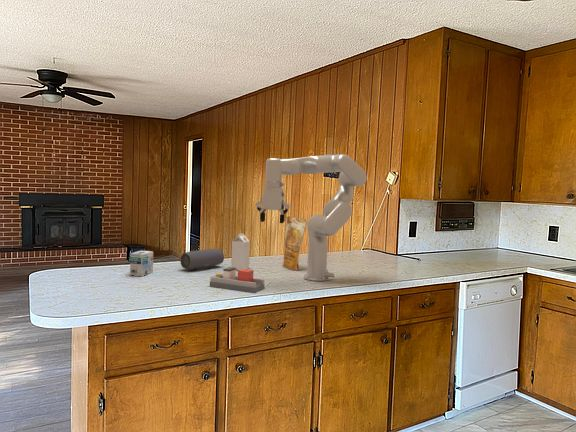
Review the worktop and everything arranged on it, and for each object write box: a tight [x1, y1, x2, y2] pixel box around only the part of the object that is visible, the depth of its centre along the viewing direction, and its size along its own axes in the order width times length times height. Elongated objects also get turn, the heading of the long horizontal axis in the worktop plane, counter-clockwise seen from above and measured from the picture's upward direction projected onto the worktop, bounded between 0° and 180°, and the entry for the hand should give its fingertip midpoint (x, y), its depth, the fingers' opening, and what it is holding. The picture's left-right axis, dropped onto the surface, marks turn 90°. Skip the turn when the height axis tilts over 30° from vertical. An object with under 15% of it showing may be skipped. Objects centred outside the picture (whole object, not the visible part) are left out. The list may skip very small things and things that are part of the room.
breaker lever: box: [222, 266, 237, 280], centre depth 202 cm, size 3×6×6 cm, turn 157°
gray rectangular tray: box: [209, 272, 266, 294], centre depth 201 cm, size 22×10×5 cm, turn 67°
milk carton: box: [230, 232, 251, 271], centre depth 242 cm, size 7×7×19 cm
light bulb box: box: [129, 250, 154, 277], centre depth 220 cm, size 11×7×11 cm, turn 168°
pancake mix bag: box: [282, 216, 308, 271], centre depth 250 cm, size 7×19×28 cm, turn 26°
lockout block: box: [237, 268, 254, 282], centre depth 199 cm, size 5×5×6 cm
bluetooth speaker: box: [179, 248, 225, 271], centre depth 239 cm, size 23×9×10 cm, turn 141°
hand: (272, 222), depth 211 cm, fingers open, 9 cm apart
